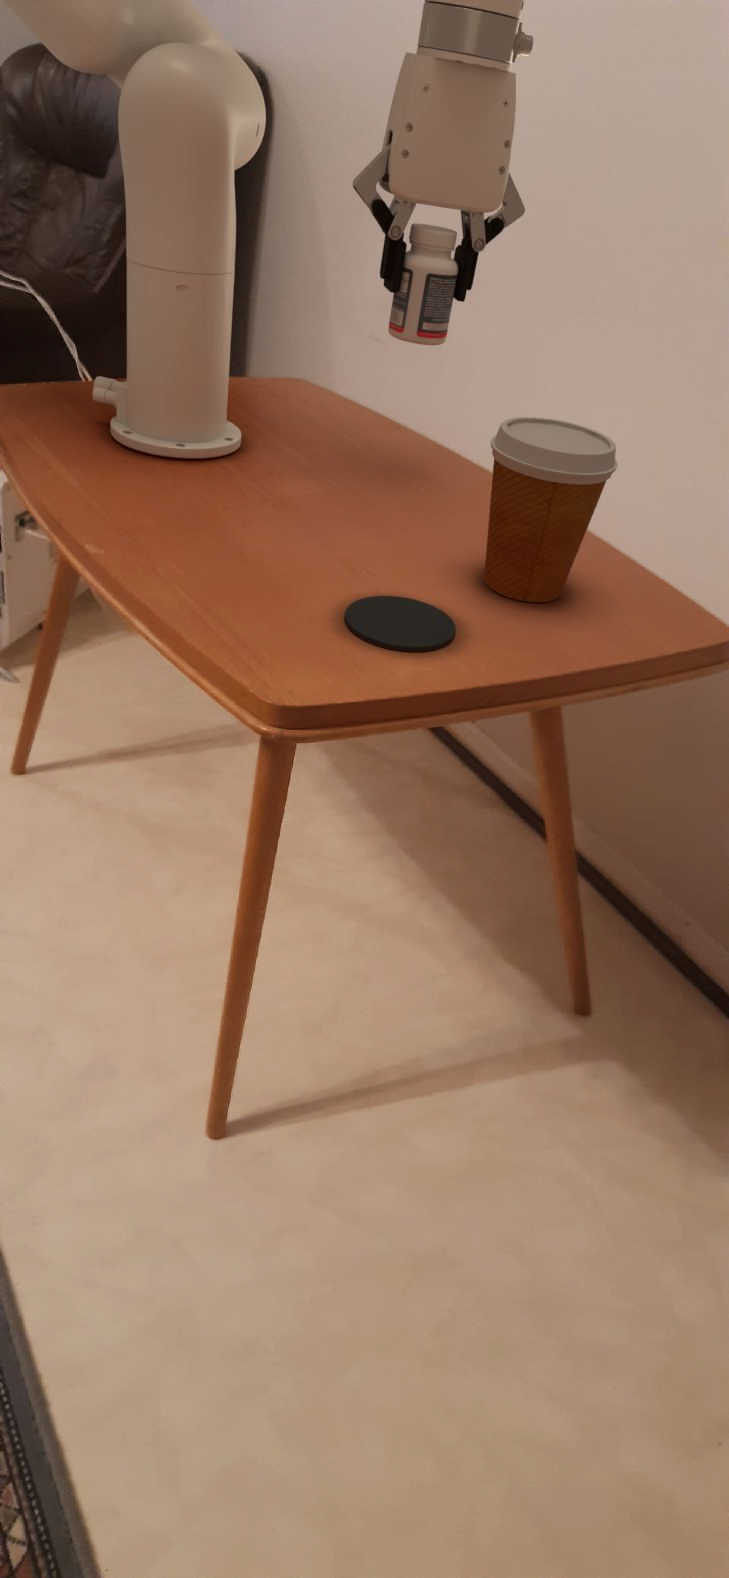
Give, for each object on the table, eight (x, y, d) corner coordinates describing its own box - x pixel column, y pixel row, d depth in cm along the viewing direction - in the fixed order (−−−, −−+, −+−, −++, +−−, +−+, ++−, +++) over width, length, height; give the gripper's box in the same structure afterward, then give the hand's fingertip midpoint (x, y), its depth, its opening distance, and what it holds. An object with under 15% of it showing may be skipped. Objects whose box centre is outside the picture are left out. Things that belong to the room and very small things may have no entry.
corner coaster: (328, 633, 71) (329, 627, 71) (364, 591, 77) (364, 586, 77) (439, 662, 69) (440, 657, 69) (465, 617, 76) (467, 613, 76)
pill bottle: (451, 340, 94) (472, 232, 89) (436, 350, 90) (457, 236, 84) (396, 327, 95) (414, 219, 90) (379, 336, 90) (397, 223, 85)
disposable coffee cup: (493, 551, 87) (524, 407, 81) (597, 587, 84) (639, 440, 77) (443, 584, 80) (472, 429, 74) (554, 624, 77) (596, 466, 70)
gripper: (550, 59, 85) (500, 296, 95) (350, 19, 80) (320, 273, 91) (585, 63, 79) (527, 315, 89) (371, 20, 74) (337, 291, 85)
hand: (424, 291), depth 90 cm, fingers closed on pill bottle, 5 cm apart
